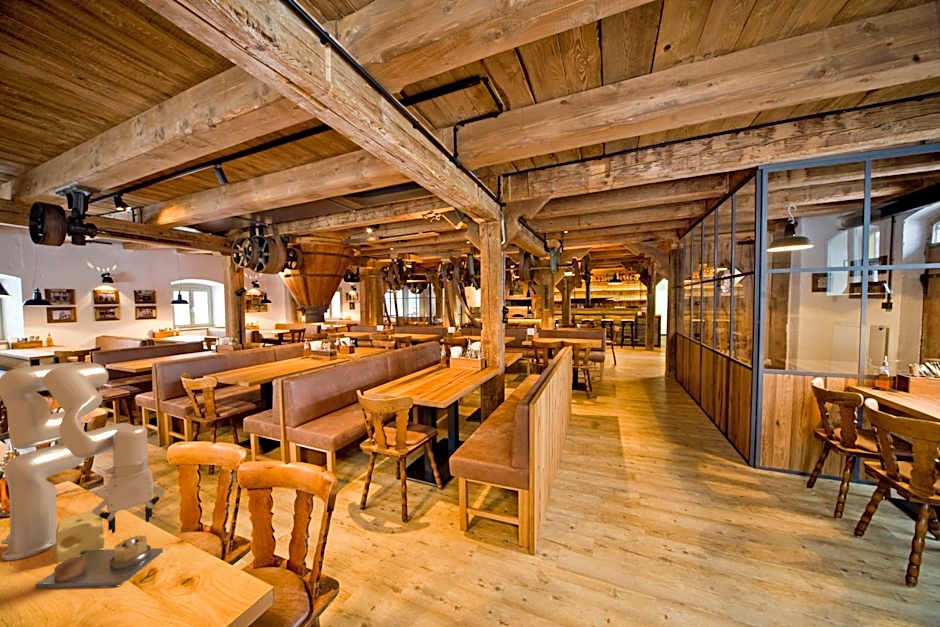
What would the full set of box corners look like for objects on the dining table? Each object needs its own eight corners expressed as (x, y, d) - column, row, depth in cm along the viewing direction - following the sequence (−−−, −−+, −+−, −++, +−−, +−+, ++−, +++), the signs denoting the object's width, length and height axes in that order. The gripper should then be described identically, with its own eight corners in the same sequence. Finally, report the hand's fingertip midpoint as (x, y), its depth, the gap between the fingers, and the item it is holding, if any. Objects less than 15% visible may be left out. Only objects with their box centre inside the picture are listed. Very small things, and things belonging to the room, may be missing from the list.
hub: (100, 574, 102) (100, 550, 102) (129, 553, 111) (129, 530, 111) (132, 573, 102) (132, 549, 102) (158, 552, 111) (158, 530, 111)
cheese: (104, 547, 113) (104, 517, 113) (53, 565, 106) (53, 532, 106) (104, 534, 121) (104, 505, 121) (56, 549, 113) (56, 518, 113)
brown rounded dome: (47, 586, 97) (47, 571, 97) (71, 570, 103) (71, 556, 103) (69, 585, 98) (69, 570, 98) (92, 569, 104) (92, 555, 104)
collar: (114, 566, 101) (114, 554, 101) (114, 554, 106) (114, 543, 106) (147, 553, 106) (147, 542, 106) (145, 543, 111) (145, 532, 111)
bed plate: (35, 588, 97) (35, 584, 97) (89, 553, 111) (89, 550, 111) (119, 586, 97) (119, 582, 97) (162, 551, 111) (162, 548, 111)
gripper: (88, 482, 97) (88, 545, 97) (169, 462, 110) (169, 518, 110) (89, 473, 103) (89, 533, 103) (166, 456, 115) (166, 509, 115)
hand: (130, 525), depth 106 cm, fingers open, 6 cm apart
